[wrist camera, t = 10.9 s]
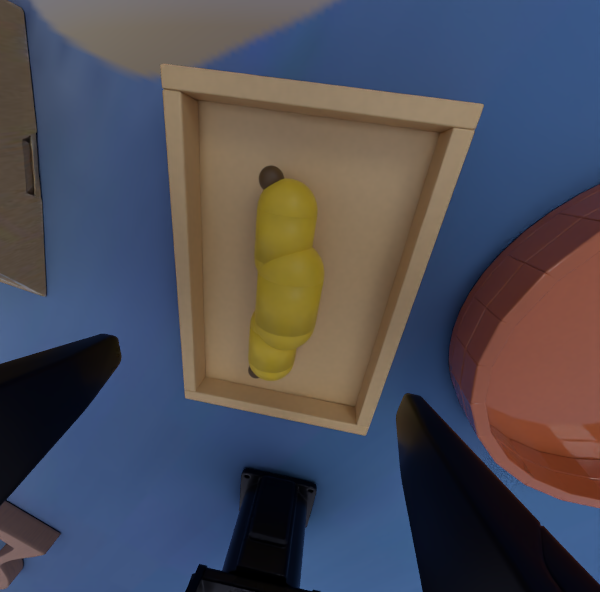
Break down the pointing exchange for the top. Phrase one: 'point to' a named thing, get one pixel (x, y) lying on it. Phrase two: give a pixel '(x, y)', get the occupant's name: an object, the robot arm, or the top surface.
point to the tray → (328, 232)
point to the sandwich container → (18, 161)
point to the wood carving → (21, 541)
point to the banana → (283, 275)
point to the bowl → (538, 354)
